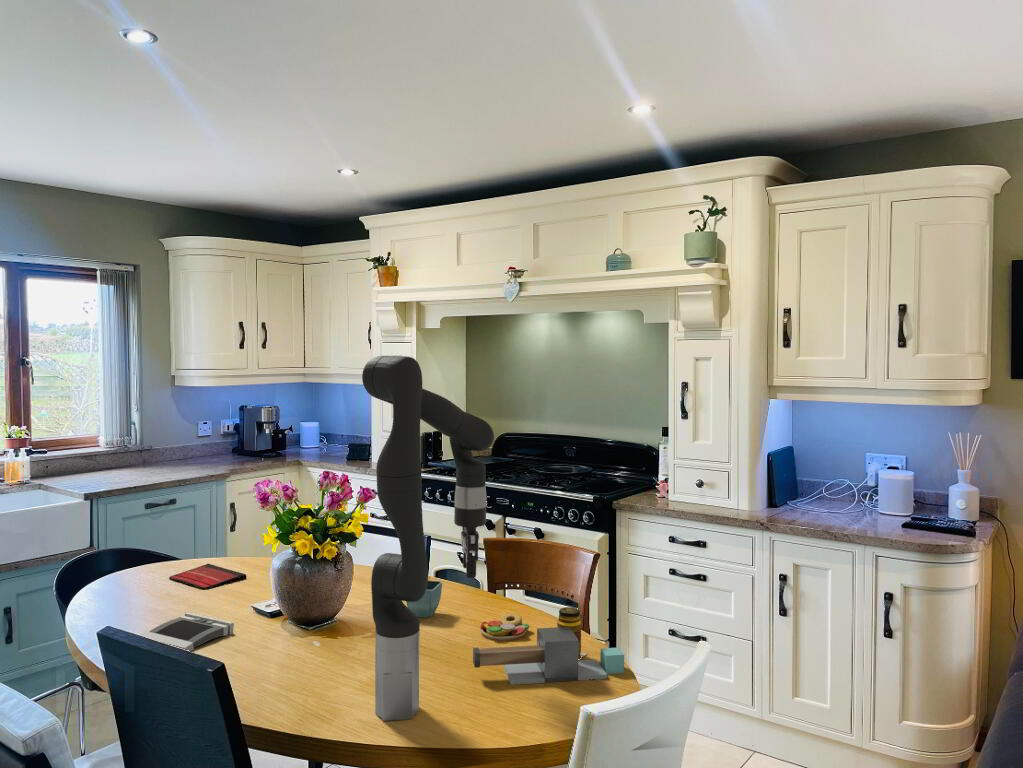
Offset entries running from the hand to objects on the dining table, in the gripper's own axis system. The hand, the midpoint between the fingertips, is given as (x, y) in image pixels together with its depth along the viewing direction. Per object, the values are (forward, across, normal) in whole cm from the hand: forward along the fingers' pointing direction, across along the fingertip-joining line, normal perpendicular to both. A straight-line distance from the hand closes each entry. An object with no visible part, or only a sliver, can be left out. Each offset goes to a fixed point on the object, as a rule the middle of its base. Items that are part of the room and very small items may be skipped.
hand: (469, 572), depth 182 cm
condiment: (+24, +7, -26) cm, 36 cm away
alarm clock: (+25, +31, +72) cm, 82 cm away
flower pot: (+24, +41, +9) cm, 49 cm away
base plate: (+24, -4, -20) cm, 32 cm away
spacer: (+19, -3, -35) cm, 40 cm away
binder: (+24, +85, +79) cm, 119 cm away
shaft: (+21, -4, -13) cm, 24 cm away
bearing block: (+24, -4, -21) cm, 32 cm away
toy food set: (+24, +25, -12) cm, 37 cm away
